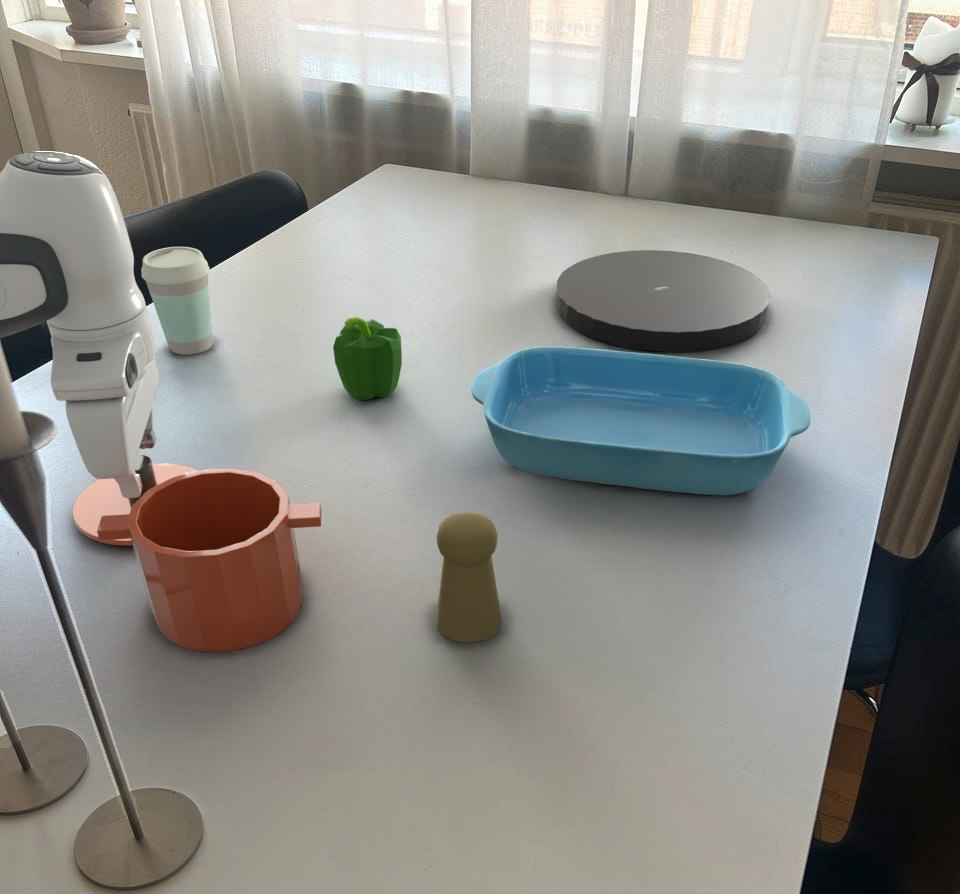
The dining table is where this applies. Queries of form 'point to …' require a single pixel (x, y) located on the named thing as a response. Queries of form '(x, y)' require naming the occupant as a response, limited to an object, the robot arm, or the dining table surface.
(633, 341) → the disc
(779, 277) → the dining table surface
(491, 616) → the olive pawn piece
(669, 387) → the casserole dish
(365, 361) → the bell pepper
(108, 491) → the pot lid
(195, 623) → the pot
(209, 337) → the coffee cup
